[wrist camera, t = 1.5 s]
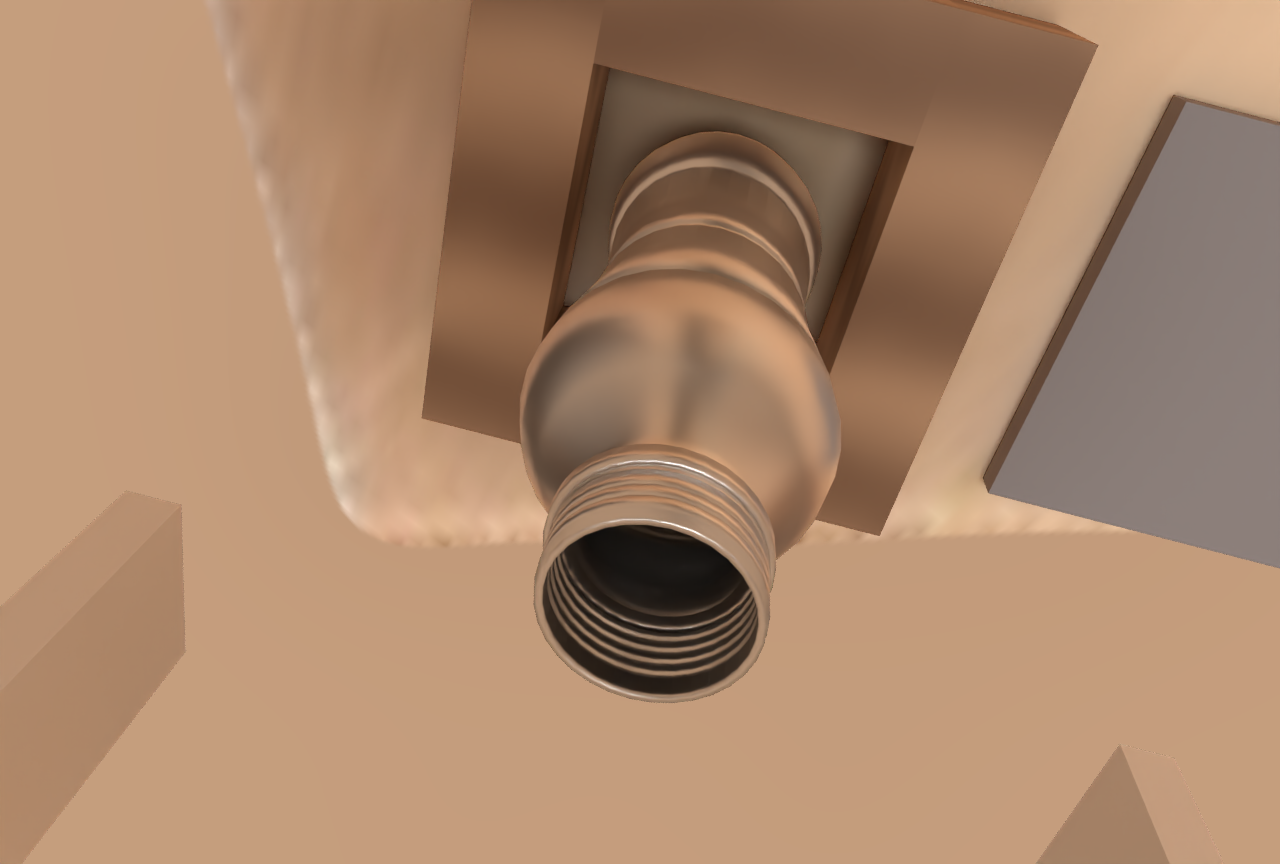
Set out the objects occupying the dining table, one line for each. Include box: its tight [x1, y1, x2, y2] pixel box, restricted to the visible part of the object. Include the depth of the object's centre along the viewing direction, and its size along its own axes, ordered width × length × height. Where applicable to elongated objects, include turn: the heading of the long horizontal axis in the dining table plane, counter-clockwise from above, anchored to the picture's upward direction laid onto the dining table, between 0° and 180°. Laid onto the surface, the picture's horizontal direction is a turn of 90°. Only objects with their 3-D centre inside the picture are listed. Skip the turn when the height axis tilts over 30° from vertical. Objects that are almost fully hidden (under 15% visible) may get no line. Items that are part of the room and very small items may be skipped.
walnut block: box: [422, 0, 1098, 536], centre depth 30 cm, size 16×16×4 cm
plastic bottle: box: [520, 131, 841, 703], centre depth 23 cm, size 6×7×20 cm
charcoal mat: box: [983, 95, 1280, 568], centre depth 31 cm, size 14×14×1 cm
